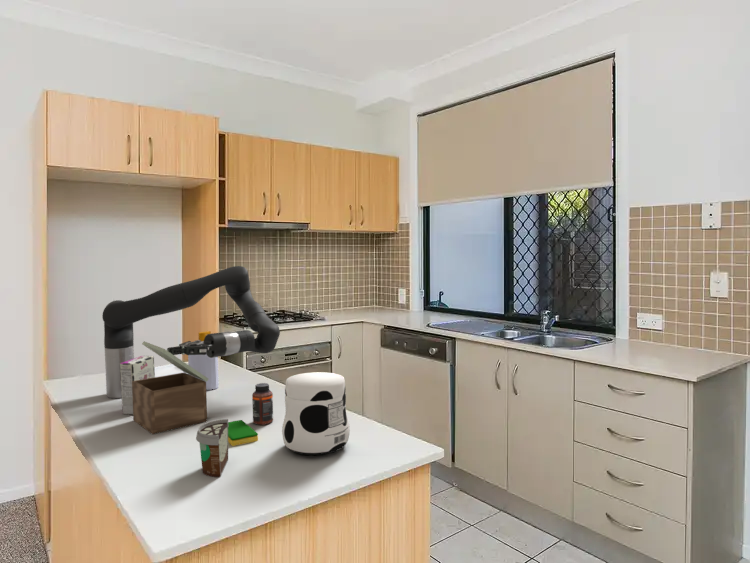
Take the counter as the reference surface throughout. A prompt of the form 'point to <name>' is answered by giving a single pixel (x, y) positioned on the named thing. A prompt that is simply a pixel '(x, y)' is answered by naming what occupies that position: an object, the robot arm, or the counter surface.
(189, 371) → the lid
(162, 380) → the walnut box
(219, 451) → the food container
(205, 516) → the counter surface
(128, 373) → the candy bar box
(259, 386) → the supplement bottle
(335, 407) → the milk container
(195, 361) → the soap bottle
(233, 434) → the dish sponge
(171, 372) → the salad plate
